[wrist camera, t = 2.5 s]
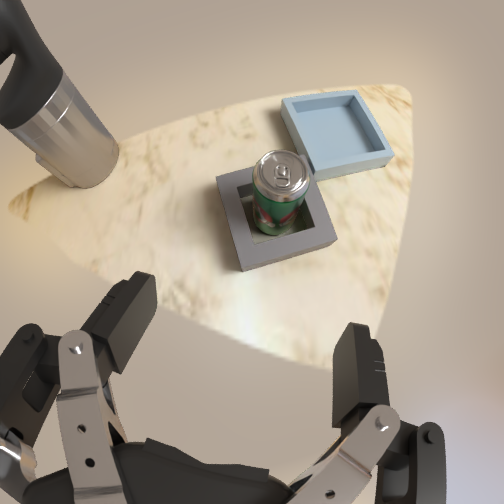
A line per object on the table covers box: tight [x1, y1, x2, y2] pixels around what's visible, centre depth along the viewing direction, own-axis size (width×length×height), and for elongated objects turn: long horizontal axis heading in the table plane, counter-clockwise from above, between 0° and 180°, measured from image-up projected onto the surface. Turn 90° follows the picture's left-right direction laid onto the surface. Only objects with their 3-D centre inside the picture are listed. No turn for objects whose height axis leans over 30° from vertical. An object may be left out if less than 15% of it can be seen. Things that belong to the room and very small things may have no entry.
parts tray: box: [280, 90, 394, 182], centre depth 35 cm, size 12×12×4 cm
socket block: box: [216, 155, 338, 272], centre depth 33 cm, size 11×11×4 cm
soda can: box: [252, 150, 310, 235], centre depth 29 cm, size 5×5×12 cm
